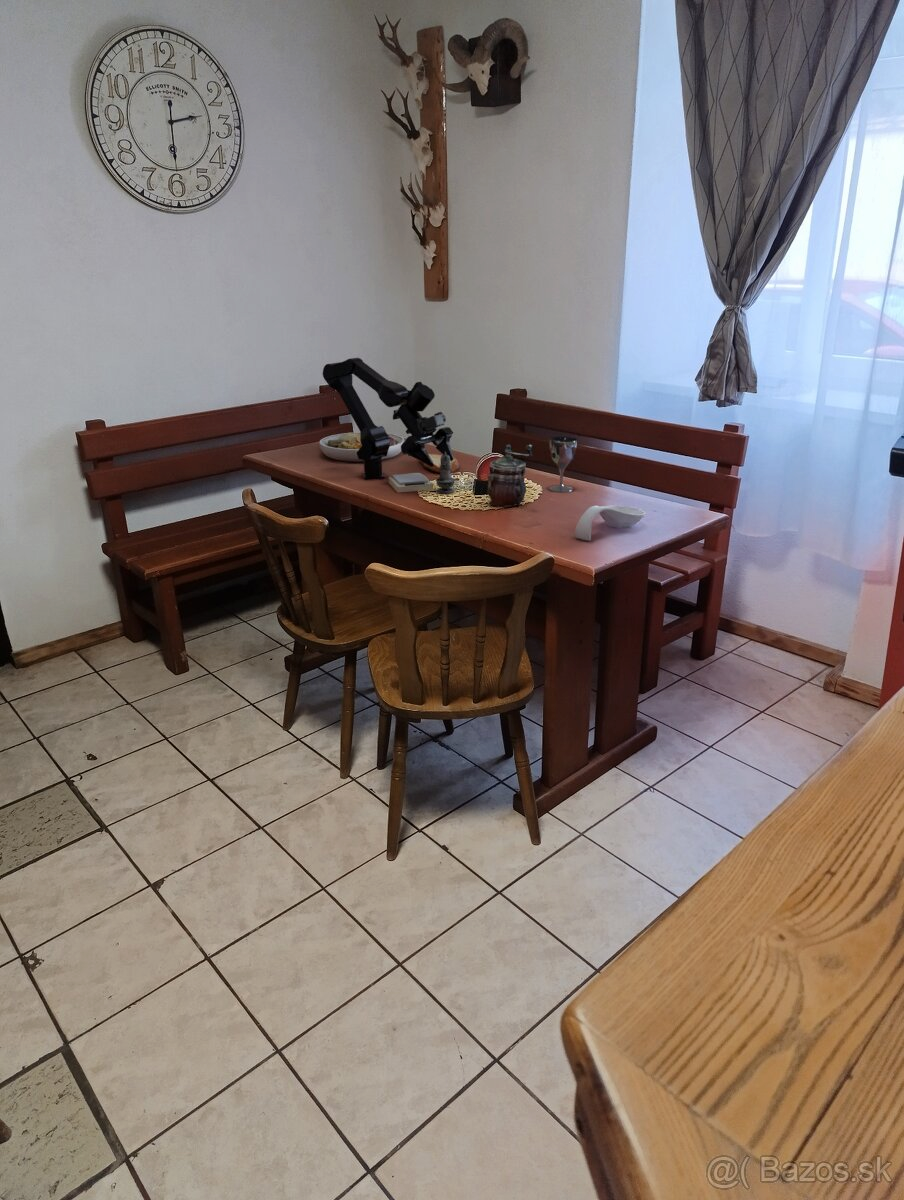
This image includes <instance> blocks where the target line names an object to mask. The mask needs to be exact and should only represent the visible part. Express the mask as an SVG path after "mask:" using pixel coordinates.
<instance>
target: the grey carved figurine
mask: <svg viewBox="0 0 904 1200" xmlns="http://www.w3.org/2000/svg"><path fill="white" fill-rule="evenodd" d="M439 468H440V473H439V477H436V478H435V482H436V485H437V487H439V488H438V489H437V490H436V493H437V494H441V495H442V494H443V495H448V494H453V493H455V490H454V489H453V487H454V484H455V482H456V479H455V478H454V477H452V475H451V474H452V473H450V468H451V466H450V456H449V455H447V454H446V452H445V453H444V455H443V454H442V456H441V466H440V467H439Z"/></svg>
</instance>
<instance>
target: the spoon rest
mask: <svg viewBox="0 0 904 1200" xmlns="http://www.w3.org/2000/svg"><path fill="white" fill-rule="evenodd" d="M598 515H600V517H601V519H602V520H603V521H604V522H605V523H606V524H607V525H608V526H609V527H612V528H617V529H626V528H631V527H632V526H635V525H637V524H638V523H640V522H641V521H642V520H643V518H644V517H645V515H646V512H645V510H643V509H640V508H636V507H631V506H623V505H603V506H602V505H601V506H599V505H597V504H595V505H592V506H590V507H589V508H587V509H586V510H585V511H584V513H583V514H582V515H581V516H580V518H579V519H578V522H577V524H576V527H575V529H574V534H573V535H574V538H576V539H580V540H583V541H591V540H592V525H593V522H594V520H595V518H596V517H597V516H598Z"/></svg>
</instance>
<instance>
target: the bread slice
mask: <svg viewBox="0 0 904 1200" xmlns="http://www.w3.org/2000/svg"><path fill="white" fill-rule="evenodd" d="M428 454H429V456H430V458H431V459H432V461H433V463H434V466H433V467H431V466H429V465H427V464H425V463H424V462H422V461H420V460H419V462H420V464H421V465H422V466H423V467H424V468H425V469H427V470H429V471H431V472H434V473H436V474H440V468H439V467H440V466H441V456H442V455H443V454H442V455H441V454H436V453H428ZM453 458H454V459H453V461H450V466H451V468H450V474H453V473H455V471H457V470H458V469H459V468H460V465H459V461H458V459H457V458H455V457H453Z"/></svg>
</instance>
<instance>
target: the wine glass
mask: <svg viewBox="0 0 904 1200" xmlns="http://www.w3.org/2000/svg"><path fill="white" fill-rule="evenodd" d="M577 440H578V439H577V438H575V437H572V436H553V437H550V438H549V454H550V457H551V460H552V461H553V462H554V464H555V465H556V466H557V468H558V471H559V484H558V485H552V486H550V487H548V489H549V491H551V492H557V493H567V492H572V491H573V490H574V488H573V487H571V486H568V485H564V484H563V482H564V481H563V480H564V473H565V471H566V468H567V467H568V465H570V463H571V462H572V461H573V460H574V458H575V455H576V451H577V446H578V445H577V444H578V441H577Z"/></svg>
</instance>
